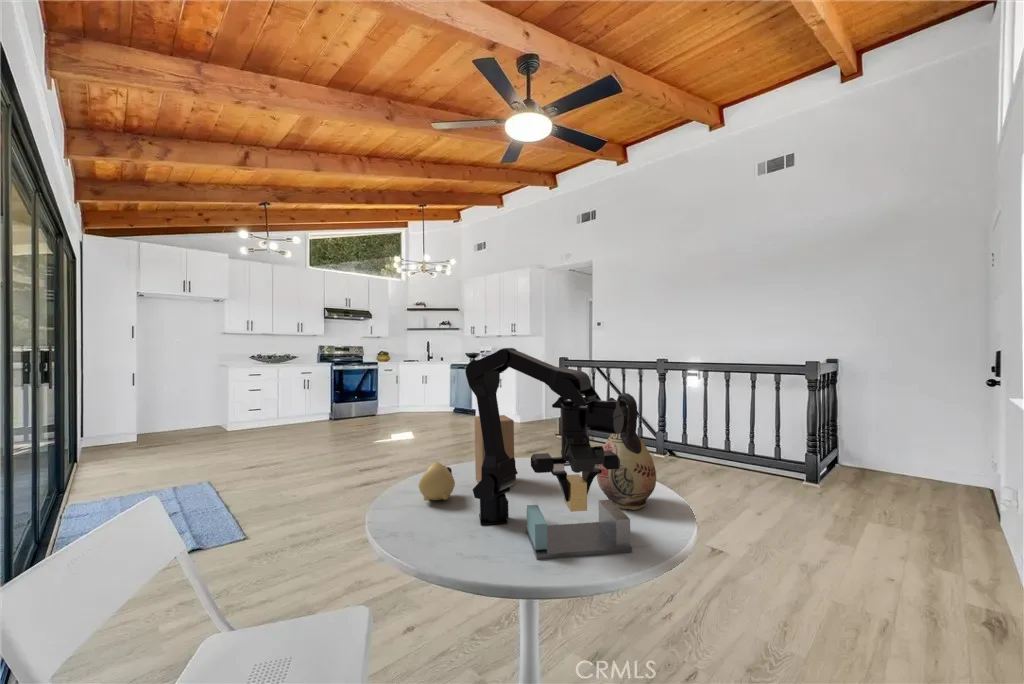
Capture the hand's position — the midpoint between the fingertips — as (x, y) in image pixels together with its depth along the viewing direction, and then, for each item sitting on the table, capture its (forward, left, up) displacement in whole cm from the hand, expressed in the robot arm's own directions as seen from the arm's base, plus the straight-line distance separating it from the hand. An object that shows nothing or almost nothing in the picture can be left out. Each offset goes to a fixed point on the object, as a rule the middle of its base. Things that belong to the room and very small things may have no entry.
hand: (575, 500), depth 103 cm
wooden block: (-14, +44, -9) cm, 47 cm away
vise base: (0, 0, -9) cm, 9 cm away
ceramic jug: (+19, +19, -9) cm, 28 cm away
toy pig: (-31, +32, -9) cm, 45 cm away
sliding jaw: (-9, 0, -8) cm, 12 cm away
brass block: (0, 0, -1) cm, 1 cm away
